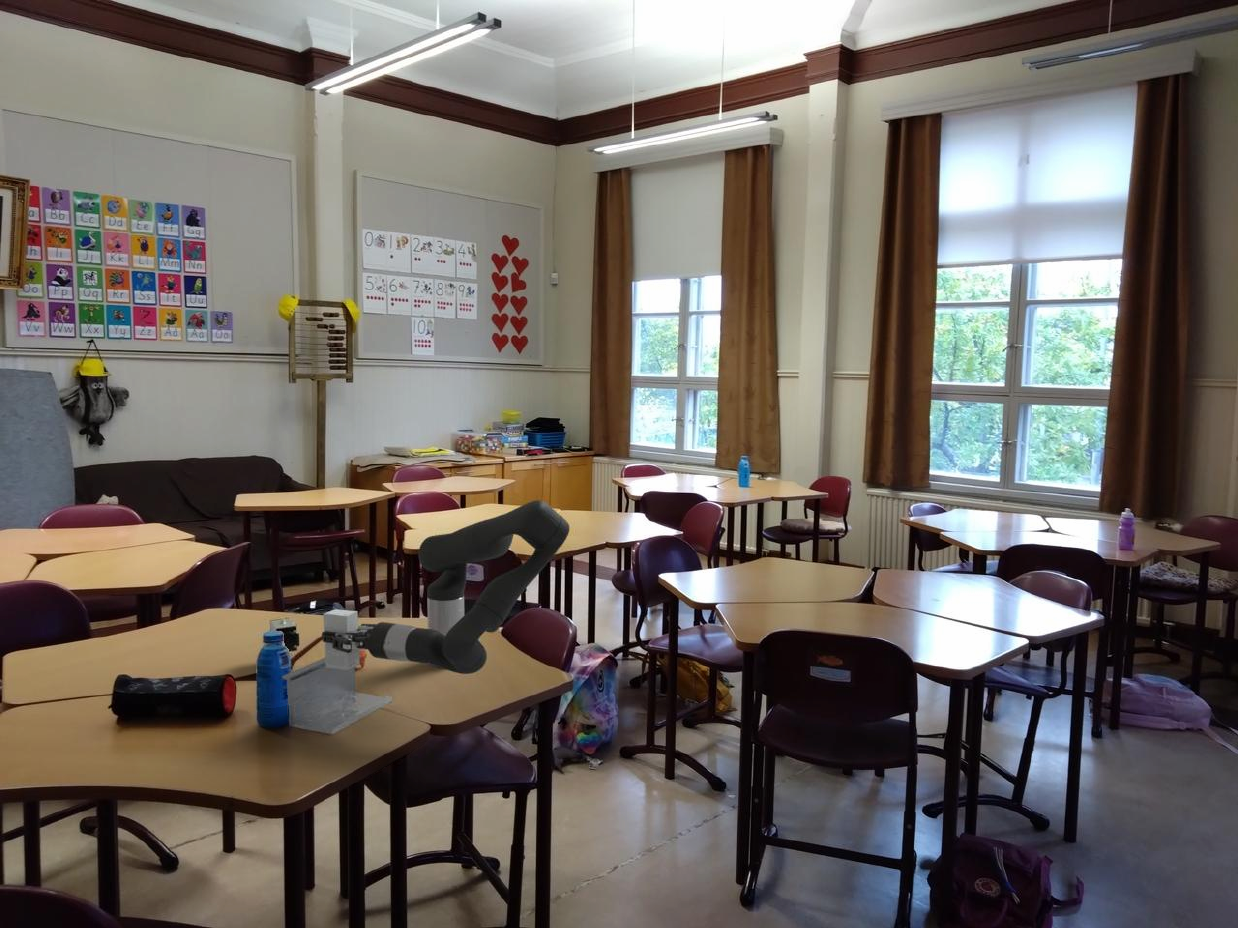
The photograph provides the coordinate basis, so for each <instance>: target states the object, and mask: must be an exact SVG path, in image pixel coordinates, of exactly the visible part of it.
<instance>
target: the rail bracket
mask: <svg viewBox="0 0 1238 928" xmlns="http://www.w3.org/2000/svg"><path fill="white" fill-rule="evenodd" d="M281 677H282V678H283V679H282V678H281V679H282V680H286V693H287V694H286V695H288V699H287V706H288V705H289V714H290V722H289V723H290V726H289V727H292V728H298V729H302V730H307V731H312V732H317V733H323V734H327V735H334V734H336V733H338V732H339V731H341V730H343V729H345V728H347V727H348V726H350V725H352V724H354V723H356V722H357V721H359V720H362V719H363V718H365V717H366V716H368V715H370V714H372V713H374V712H375V711H377V710H379V709H381V708H382V707H385V706H386V705H388V704H389V703H391V702H392V697H393V696H392V695H386V696H385V697H383V696H378V695H372V694H368V693H361V692H357V691H356V667H353V668H351V669H349V670H344V669H335V668H326V666H325V657H323V658H321V659H318V660H317V661H313V662H311V663H309V664H307V665H305V666H302V667H300V668H298V669H296V670H294V671H290V672H289V673H286V674H284V675H282V676H281ZM373 711H374V712H373Z"/></svg>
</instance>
